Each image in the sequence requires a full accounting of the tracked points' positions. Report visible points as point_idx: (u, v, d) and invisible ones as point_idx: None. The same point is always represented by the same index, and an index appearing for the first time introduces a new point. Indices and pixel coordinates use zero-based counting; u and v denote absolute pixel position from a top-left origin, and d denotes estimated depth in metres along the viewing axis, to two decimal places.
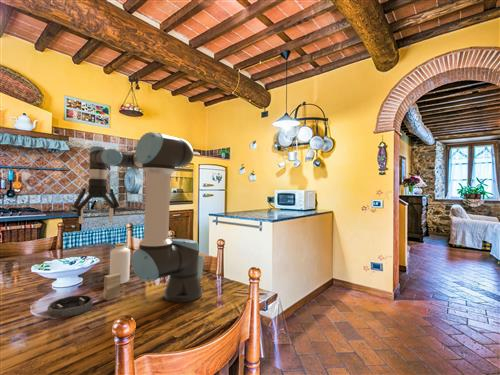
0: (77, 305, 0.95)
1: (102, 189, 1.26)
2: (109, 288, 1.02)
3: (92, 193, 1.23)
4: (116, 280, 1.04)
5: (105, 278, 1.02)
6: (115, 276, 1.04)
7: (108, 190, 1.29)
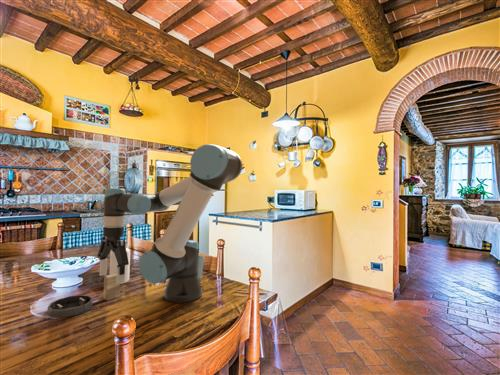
0: (77, 305, 0.95)
1: (112, 240, 1.03)
2: (109, 288, 1.02)
3: (106, 243, 1.05)
4: None
5: (105, 278, 1.02)
6: (115, 276, 1.04)
7: None
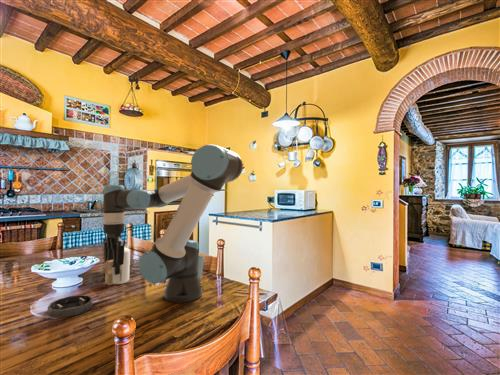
0: (77, 305, 0.95)
1: (113, 235, 1.02)
2: (111, 272, 1.02)
3: None
4: None
5: (106, 263, 1.02)
6: None
7: (118, 240, 1.02)
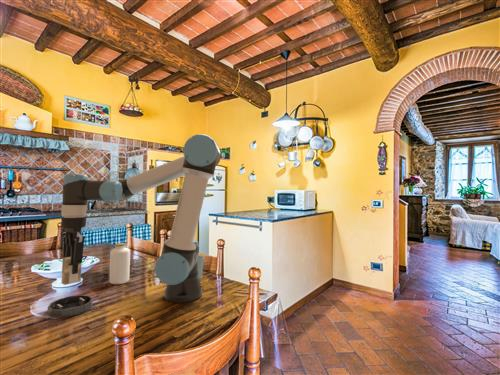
0: (77, 305, 0.95)
1: (72, 230, 0.92)
2: (67, 271, 0.91)
3: None
4: None
5: (63, 260, 0.92)
6: None
7: (77, 236, 0.91)
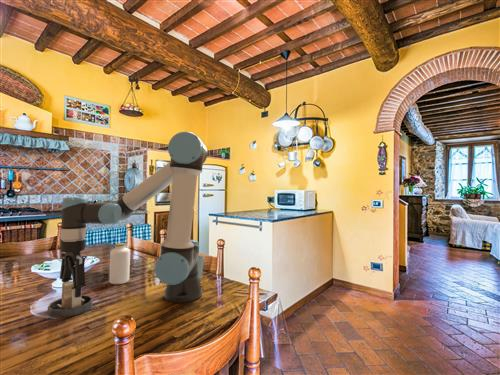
0: None
1: (71, 254, 0.92)
2: (67, 297, 0.91)
3: None
4: None
5: (63, 286, 0.92)
6: None
7: (77, 259, 0.91)
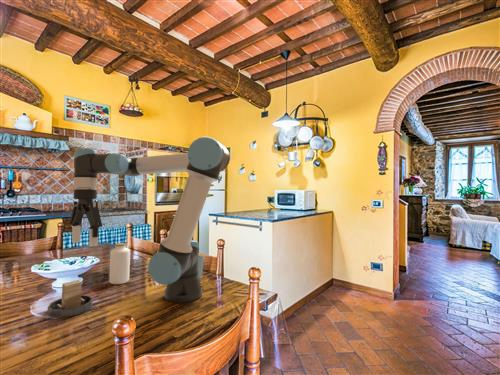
0: None
1: (84, 202, 0.97)
2: (67, 297, 0.91)
3: None
4: (76, 288, 0.93)
5: (63, 286, 0.92)
6: (75, 284, 0.93)
7: None
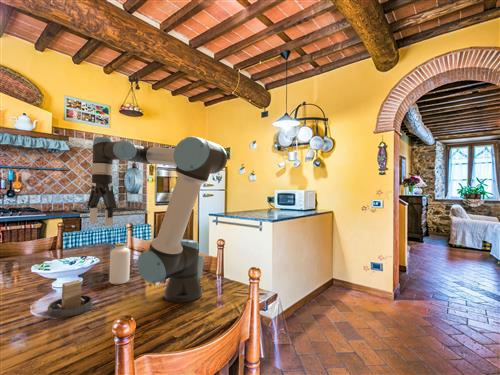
0: None
1: (101, 186, 1.08)
2: (67, 297, 0.91)
3: (95, 191, 1.10)
4: (76, 288, 0.93)
5: (63, 286, 0.92)
6: (75, 284, 0.93)
7: None
